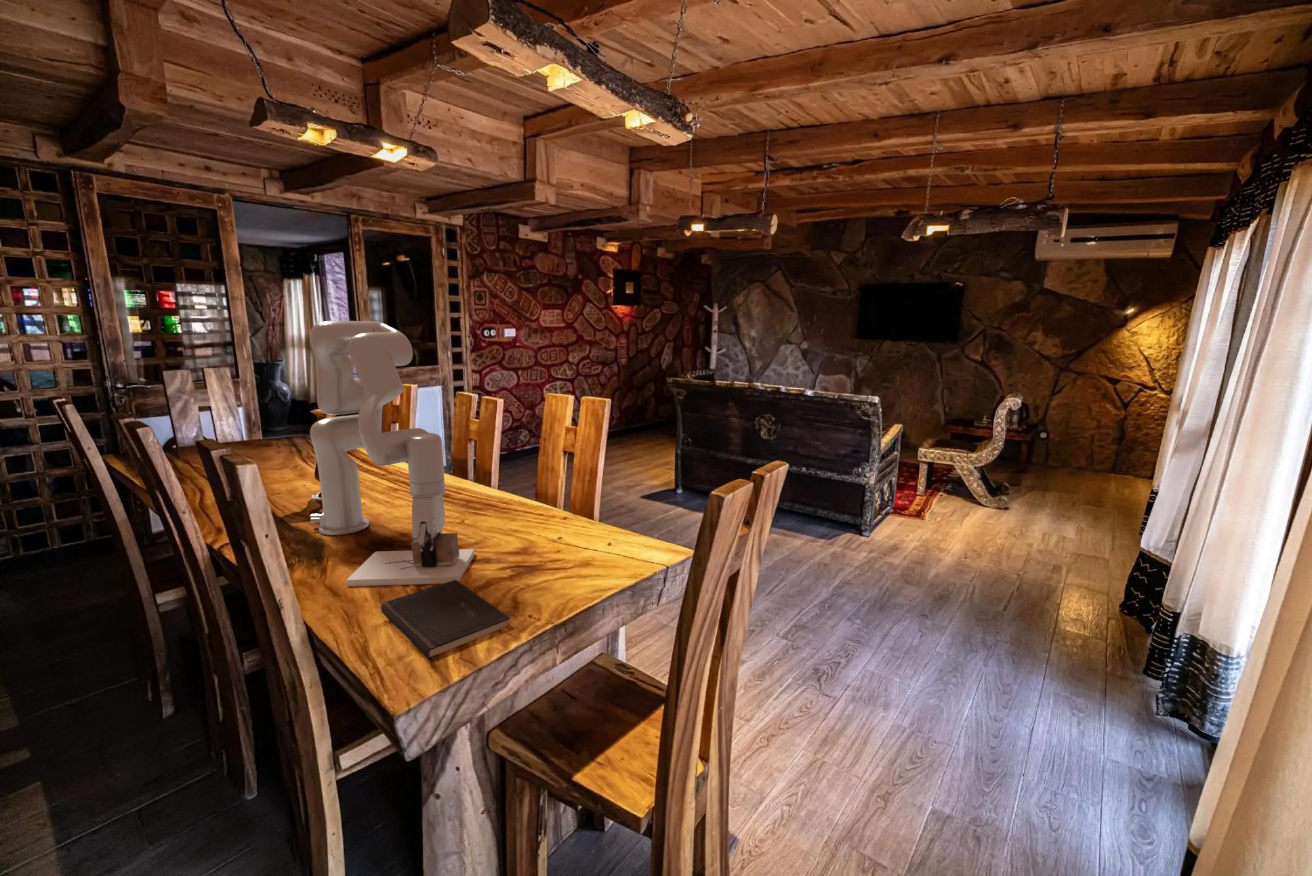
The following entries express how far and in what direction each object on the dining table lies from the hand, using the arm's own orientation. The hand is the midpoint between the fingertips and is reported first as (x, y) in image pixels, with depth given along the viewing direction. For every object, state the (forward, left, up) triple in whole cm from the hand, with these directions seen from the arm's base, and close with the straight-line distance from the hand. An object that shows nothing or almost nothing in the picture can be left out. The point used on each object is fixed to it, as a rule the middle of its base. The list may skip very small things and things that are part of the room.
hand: (433, 560), depth 135 cm
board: (-4, 0, -2) cm, 5 cm away
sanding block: (+1, 0, 0) cm, 1 cm away
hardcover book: (+9, -24, -3) cm, 26 cm away
